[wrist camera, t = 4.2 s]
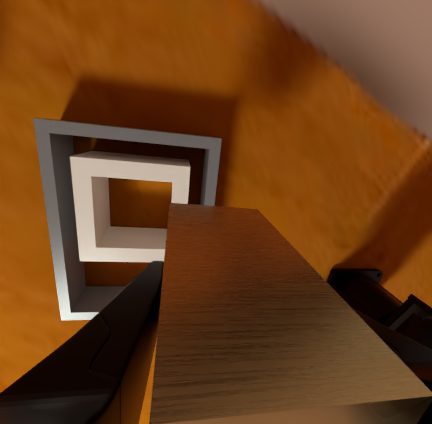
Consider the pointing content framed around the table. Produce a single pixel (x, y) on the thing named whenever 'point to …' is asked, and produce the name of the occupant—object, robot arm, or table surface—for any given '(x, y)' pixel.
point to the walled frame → (106, 202)
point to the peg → (264, 334)
